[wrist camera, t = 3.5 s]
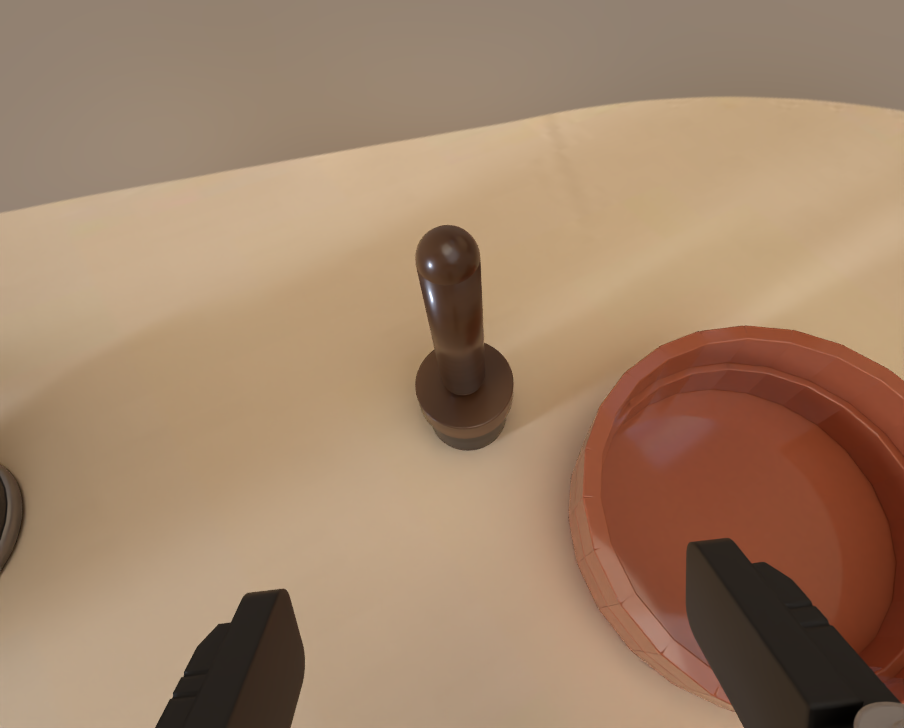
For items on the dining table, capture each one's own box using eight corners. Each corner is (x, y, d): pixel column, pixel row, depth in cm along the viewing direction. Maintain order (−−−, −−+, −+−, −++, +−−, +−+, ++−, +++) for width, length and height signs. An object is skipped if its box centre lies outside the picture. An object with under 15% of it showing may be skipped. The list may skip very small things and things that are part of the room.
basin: (504, 551, 28) (506, 532, 23) (667, 327, 33) (700, 269, 28) (823, 808, 23) (922, 862, 18) (960, 496, 28) (1071, 464, 23)
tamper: (408, 421, 32) (336, 252, 18) (461, 360, 33) (434, 157, 19) (475, 473, 30) (457, 332, 16) (528, 406, 32) (554, 222, 17)
